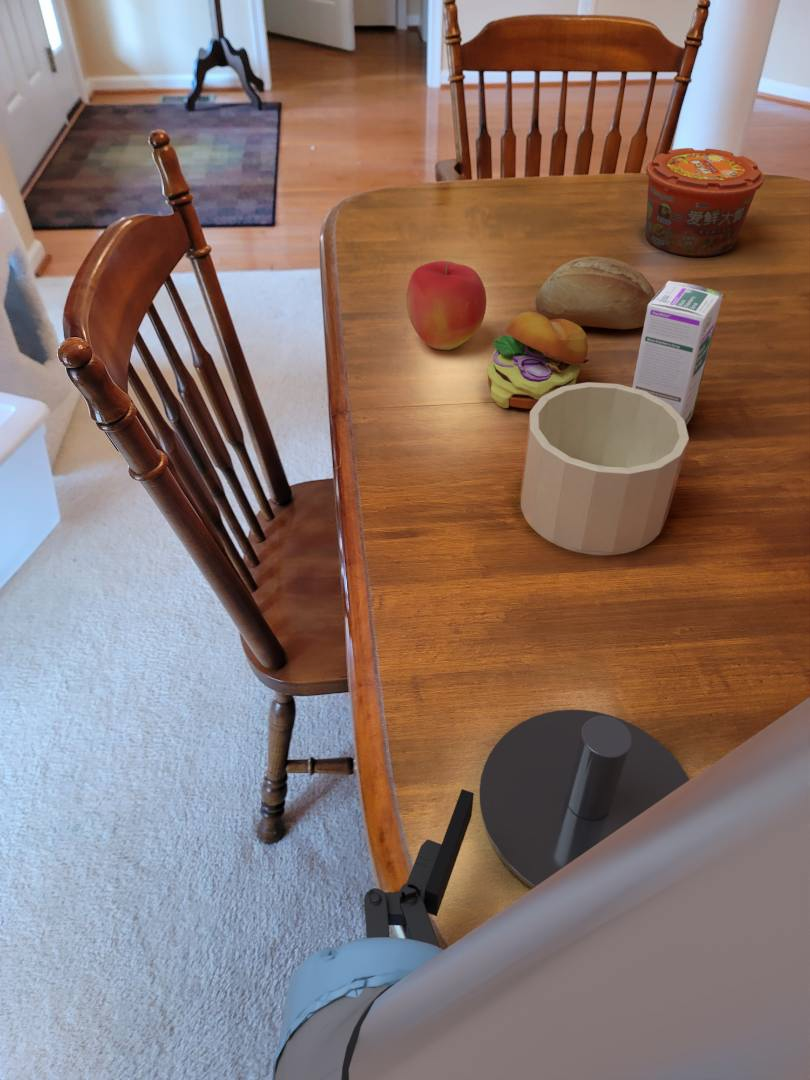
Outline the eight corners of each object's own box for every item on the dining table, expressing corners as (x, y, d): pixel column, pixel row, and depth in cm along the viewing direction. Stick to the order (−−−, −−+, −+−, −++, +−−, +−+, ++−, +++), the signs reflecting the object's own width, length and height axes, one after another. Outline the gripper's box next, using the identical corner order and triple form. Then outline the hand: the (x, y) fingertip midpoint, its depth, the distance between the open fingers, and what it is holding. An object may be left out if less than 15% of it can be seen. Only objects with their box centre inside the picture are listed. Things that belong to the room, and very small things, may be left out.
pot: (694, 513, 79) (720, 431, 72) (598, 577, 72) (616, 494, 66) (586, 446, 86) (601, 366, 80) (490, 499, 80) (498, 418, 74)
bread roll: (654, 347, 101) (668, 285, 96) (531, 336, 103) (537, 275, 98) (652, 310, 108) (665, 250, 103) (536, 300, 110) (542, 241, 105)
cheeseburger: (461, 387, 94) (481, 301, 89) (526, 377, 101) (548, 296, 95) (523, 427, 88) (549, 337, 83) (588, 413, 95) (615, 329, 89)
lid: (742, 823, 56) (781, 751, 50) (595, 968, 49) (620, 904, 43) (579, 685, 64) (596, 610, 58) (434, 793, 57) (437, 720, 52)
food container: (613, 228, 127) (625, 154, 120) (699, 212, 132) (716, 140, 124) (677, 271, 116) (695, 193, 109) (768, 251, 121) (791, 175, 113)
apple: (477, 368, 98) (482, 288, 91) (397, 360, 99) (397, 280, 92) (487, 328, 105) (493, 251, 98) (413, 321, 106) (413, 244, 99)
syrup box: (675, 443, 87) (710, 316, 77) (621, 426, 89) (648, 300, 79) (692, 416, 90) (727, 291, 80) (640, 401, 93) (667, 277, 83)
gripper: (215, 1183, 40) (381, 804, 54) (760, 1459, 33) (783, 944, 48) (186, 1146, 35) (378, 739, 49) (824, 1463, 28) (828, 886, 43)
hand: (578, 839), depth 49 cm, fingers open, 13 cm apart
